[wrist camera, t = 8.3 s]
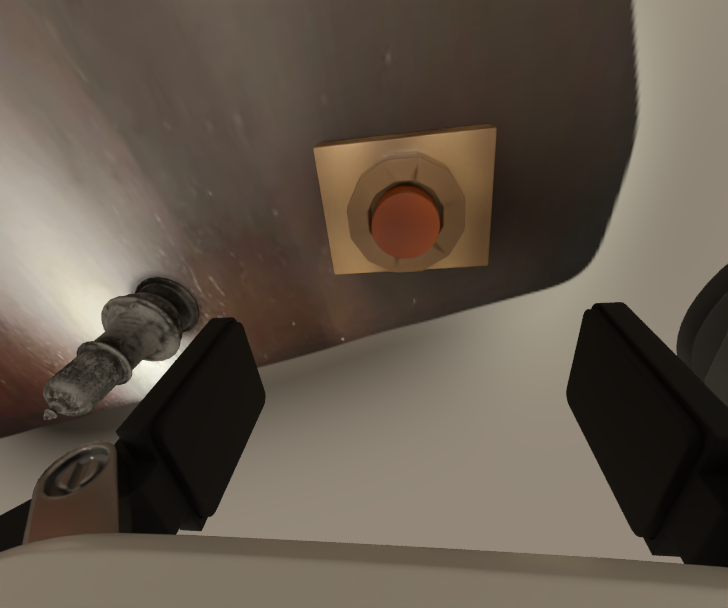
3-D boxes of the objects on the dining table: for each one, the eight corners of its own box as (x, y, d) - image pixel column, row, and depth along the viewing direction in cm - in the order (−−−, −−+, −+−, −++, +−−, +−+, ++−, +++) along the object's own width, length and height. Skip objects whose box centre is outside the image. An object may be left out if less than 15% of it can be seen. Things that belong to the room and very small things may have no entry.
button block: (489, 123, 21) (504, 130, 18) (482, 252, 25) (493, 278, 22) (320, 142, 22) (305, 152, 19) (339, 261, 26) (329, 287, 23)
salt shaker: (178, 266, 28) (48, 371, 18) (214, 328, 31) (119, 449, 21) (117, 282, 29) (-37, 387, 19) (157, 340, 32) (41, 459, 22)
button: (437, 181, 20) (439, 189, 18) (438, 244, 21) (440, 256, 20) (370, 188, 20) (367, 196, 19) (377, 249, 22) (374, 261, 20)
